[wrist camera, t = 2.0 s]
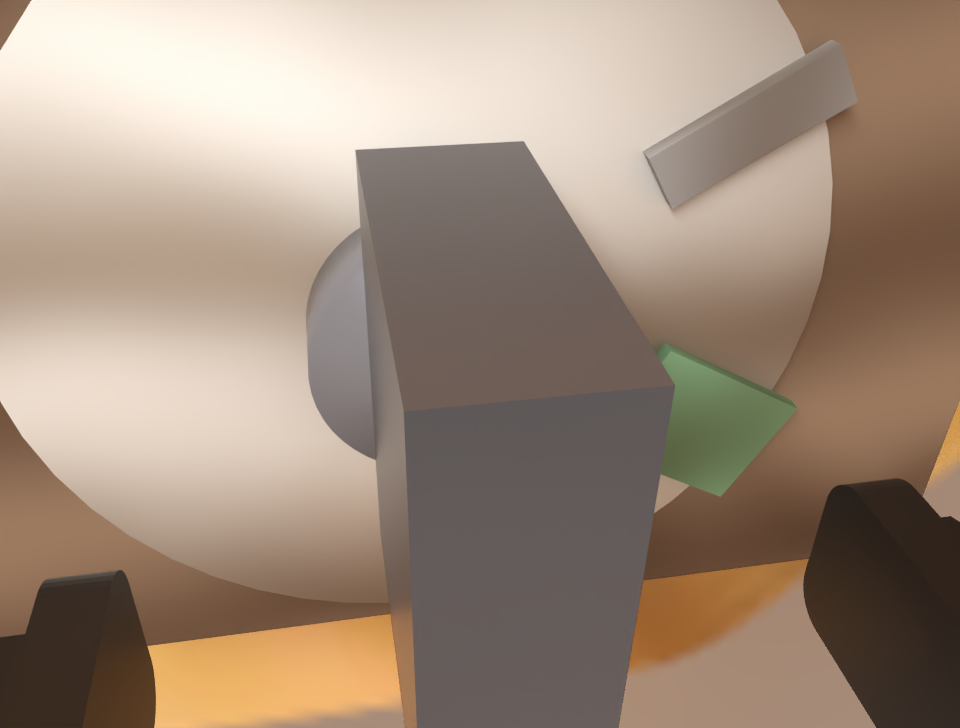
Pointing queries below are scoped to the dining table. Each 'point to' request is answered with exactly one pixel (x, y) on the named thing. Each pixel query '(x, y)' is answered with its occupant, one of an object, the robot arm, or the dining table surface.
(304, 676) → the dining table surface
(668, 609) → the dining table surface
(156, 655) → the dining table surface
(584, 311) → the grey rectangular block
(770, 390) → the tuner box
